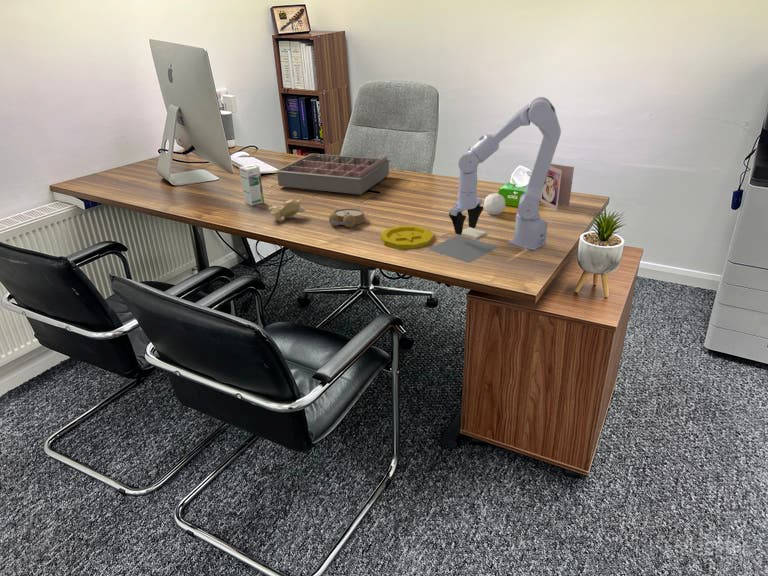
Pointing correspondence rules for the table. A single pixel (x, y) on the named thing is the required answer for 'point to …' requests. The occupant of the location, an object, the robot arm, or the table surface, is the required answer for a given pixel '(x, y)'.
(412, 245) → the decorative disc
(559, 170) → the greeting card
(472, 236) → the tile
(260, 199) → the syrup box
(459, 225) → the robot arm
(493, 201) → the geometric ball
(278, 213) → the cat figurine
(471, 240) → the mat
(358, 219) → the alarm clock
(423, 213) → the table surface
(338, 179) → the organizer tray
